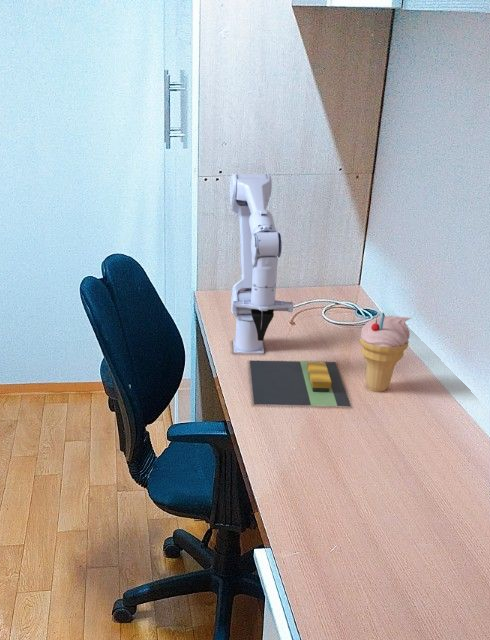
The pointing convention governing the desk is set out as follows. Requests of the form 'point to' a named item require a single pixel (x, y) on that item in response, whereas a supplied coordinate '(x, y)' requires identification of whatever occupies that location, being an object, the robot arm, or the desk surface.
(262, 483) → the desk surface
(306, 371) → the desk mat
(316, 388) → the gold bar
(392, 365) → the ice cream cone
